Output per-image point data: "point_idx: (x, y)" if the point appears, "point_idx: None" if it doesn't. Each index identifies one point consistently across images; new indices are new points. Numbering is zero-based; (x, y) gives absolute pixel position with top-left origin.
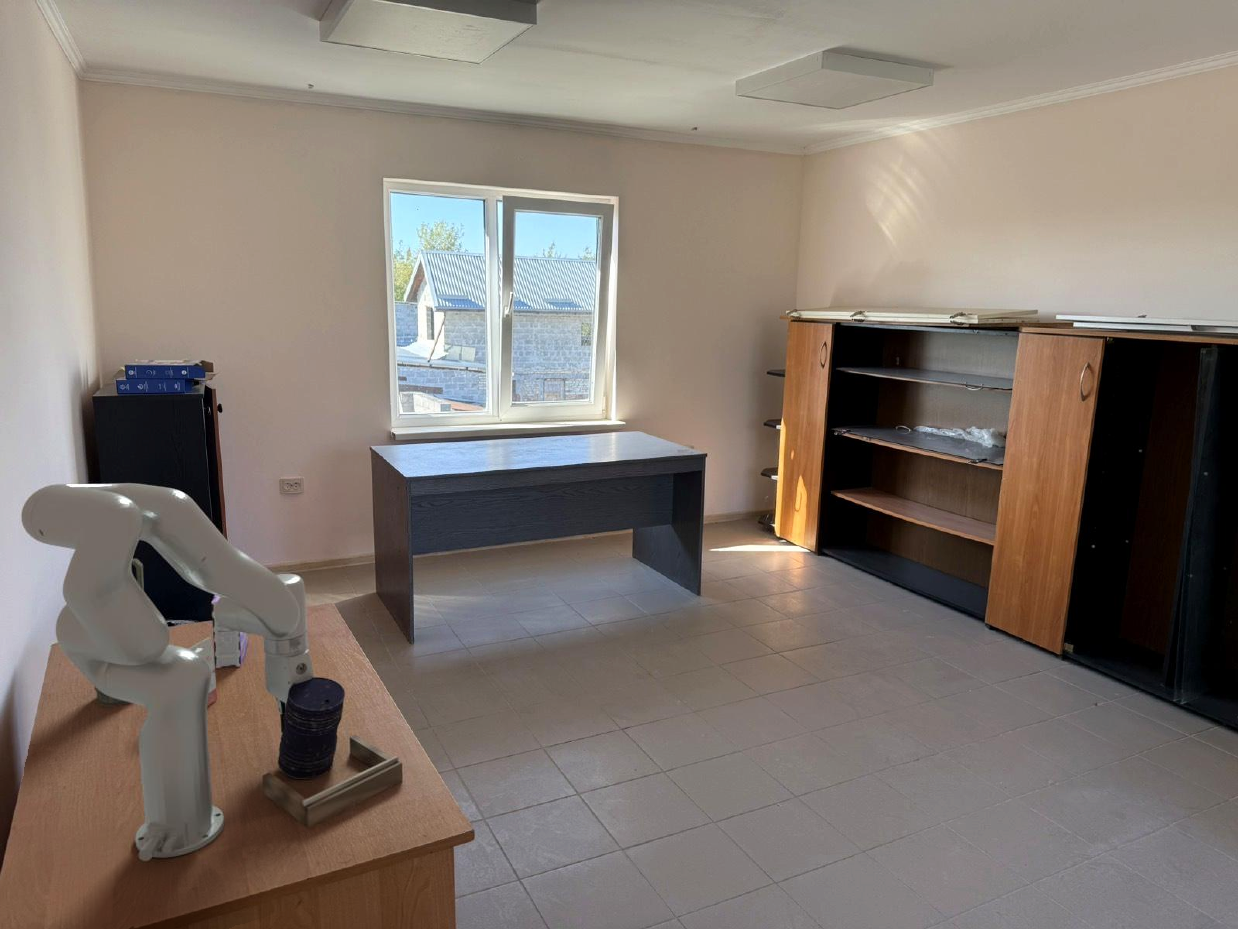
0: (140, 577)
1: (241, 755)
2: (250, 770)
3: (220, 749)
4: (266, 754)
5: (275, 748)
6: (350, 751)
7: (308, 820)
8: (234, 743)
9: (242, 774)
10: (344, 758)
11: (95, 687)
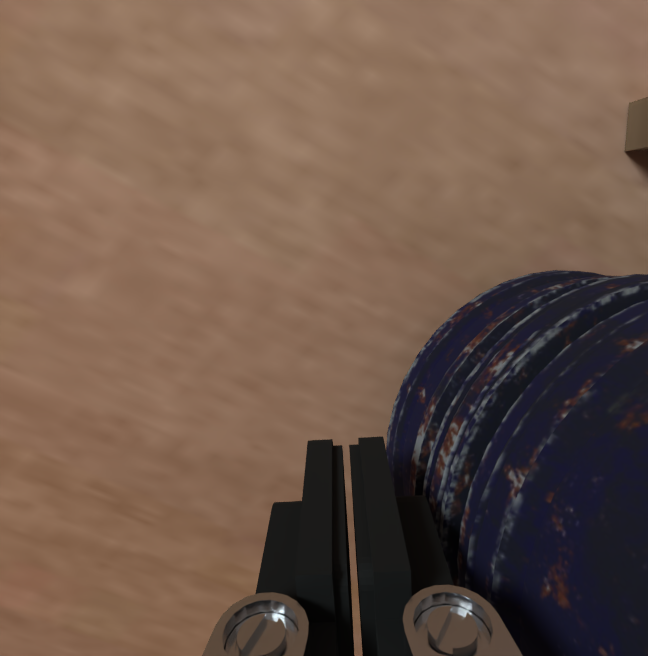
0: None
1: (166, 589)
2: None
3: (40, 630)
4: (243, 505)
5: (214, 446)
6: (645, 148)
7: None
8: (19, 566)
9: None
10: (636, 207)
11: None
